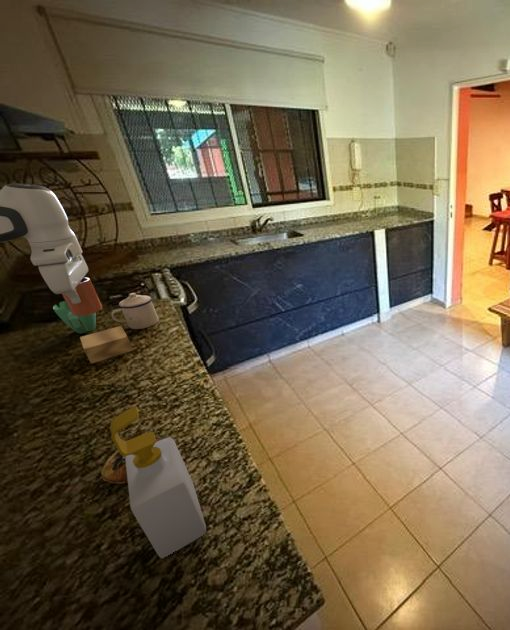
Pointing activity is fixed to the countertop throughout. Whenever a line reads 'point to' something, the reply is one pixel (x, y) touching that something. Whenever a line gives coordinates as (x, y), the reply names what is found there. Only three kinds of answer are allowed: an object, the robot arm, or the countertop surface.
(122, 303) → the teacup with lid
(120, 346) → the block
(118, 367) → the countertop surface
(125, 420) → the soap bottle
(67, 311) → the mug
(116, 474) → the bread roll
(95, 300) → the cup
